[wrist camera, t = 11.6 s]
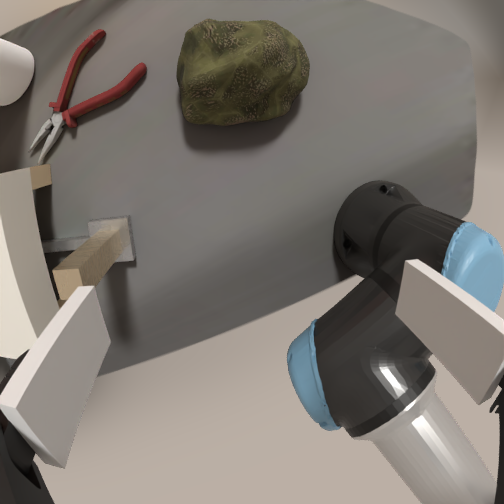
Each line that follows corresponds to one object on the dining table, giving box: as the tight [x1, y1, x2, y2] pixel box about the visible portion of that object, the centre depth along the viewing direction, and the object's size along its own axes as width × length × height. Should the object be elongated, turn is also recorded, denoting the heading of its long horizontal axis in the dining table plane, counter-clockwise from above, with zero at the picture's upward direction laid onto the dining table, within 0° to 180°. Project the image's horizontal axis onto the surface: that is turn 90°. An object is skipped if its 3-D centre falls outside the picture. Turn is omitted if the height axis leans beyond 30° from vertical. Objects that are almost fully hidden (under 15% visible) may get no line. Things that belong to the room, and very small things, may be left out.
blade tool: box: [41, 215, 136, 300], centre depth 30 cm, size 26×10×15 cm, turn 92°
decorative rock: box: [177, 19, 310, 126], centre depth 29 cm, size 15×16×10 cm
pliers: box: [28, 29, 147, 164], centre depth 30 cm, size 11×20×3 cm, turn 134°
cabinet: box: [0, 164, 67, 359], centre depth 30 cm, size 14×24×13 cm, turn 2°
